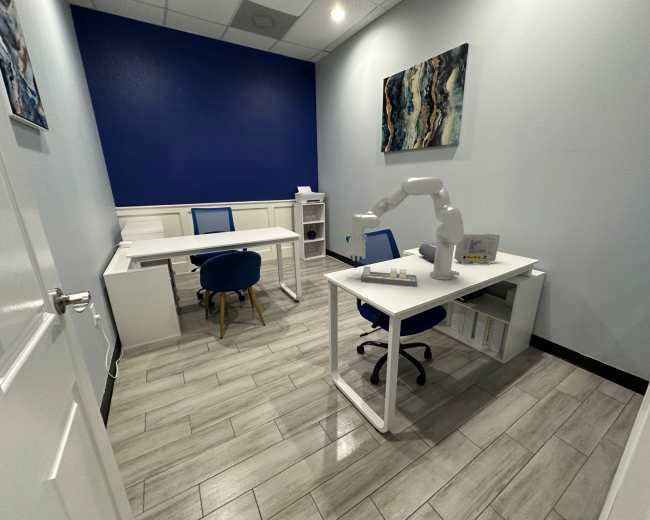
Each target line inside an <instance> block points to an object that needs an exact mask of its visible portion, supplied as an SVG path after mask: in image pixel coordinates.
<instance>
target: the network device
mask: <svg viewBox="0 0 650 520" xmlns="http://www.w3.org/2000/svg"><path fill="white" fill-rule="evenodd" d="M500 237H501V235H499V234H498V233H497V234H496V233H464V237H463V239H462V241H461V242H459V243H457V244H455V249H454V250H455V251H454V256H453V259H454V260H455V261H457V262H458V263H459V264H461V265H463V266H491V263H490V262H495V261H496V259H497V253H498V248H499V243H500ZM465 262H466V263H465ZM467 262H469V263H467ZM479 262H480V263H479ZM481 262H482V263H481Z"/></svg>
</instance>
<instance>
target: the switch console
mask: <svg viewBox="0 0 650 520" xmlns="http://www.w3.org/2000/svg"><path fill="white" fill-rule="evenodd" d="M360 283H371V284H381V285H392V286H403V287H404V286H405V287H414V288H417V286H418V280H417V275H415V274H406V278H399V273H397V278H394V277H390V272H378V271H370V275H363V272H362V274H361V276H360Z"/></svg>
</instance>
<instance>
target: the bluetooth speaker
mask: <svg viewBox="0 0 650 520" xmlns="http://www.w3.org/2000/svg"><path fill="white" fill-rule="evenodd" d="M435 252H436V246H433V245H430V244H428V243H422V244H420V246H419V248H418V253H419V254H420V255H421V256H423V257H424V258H425V259H426V260H428V261H429V262H430V263H433V264H434V260H435Z"/></svg>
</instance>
